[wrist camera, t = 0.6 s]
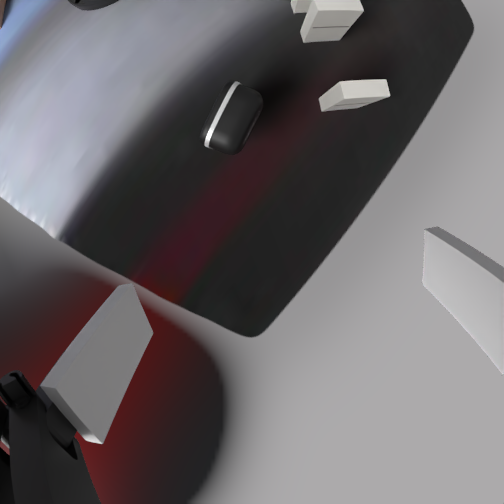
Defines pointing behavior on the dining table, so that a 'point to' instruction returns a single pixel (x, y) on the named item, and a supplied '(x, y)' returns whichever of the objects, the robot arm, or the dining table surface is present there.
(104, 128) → the dining table surface
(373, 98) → the end domino
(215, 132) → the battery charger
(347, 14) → the domino
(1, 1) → the planter corral
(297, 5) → the domino
